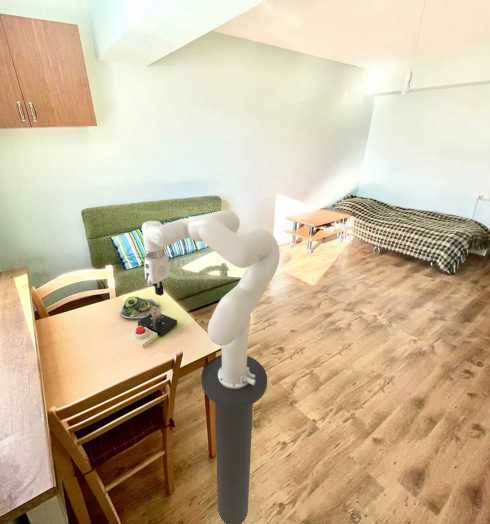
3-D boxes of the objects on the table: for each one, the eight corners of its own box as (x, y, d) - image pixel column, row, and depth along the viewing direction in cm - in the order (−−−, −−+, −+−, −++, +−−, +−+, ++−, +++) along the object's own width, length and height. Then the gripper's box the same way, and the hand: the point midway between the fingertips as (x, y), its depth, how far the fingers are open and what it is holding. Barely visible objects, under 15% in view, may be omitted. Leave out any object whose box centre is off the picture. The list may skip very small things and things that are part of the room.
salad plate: (164, 300, 152) (163, 293, 149) (155, 321, 136) (154, 313, 134) (129, 299, 153) (128, 292, 150) (116, 319, 137) (115, 312, 135)
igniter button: (146, 331, 122) (146, 327, 122) (140, 335, 120) (140, 332, 119) (141, 328, 124) (140, 325, 123) (134, 332, 121) (134, 329, 121)
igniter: (158, 337, 124) (157, 330, 122) (142, 348, 117) (141, 341, 115) (140, 329, 129) (139, 322, 128) (125, 340, 122) (124, 332, 121)
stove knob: (157, 317, 134) (156, 307, 132) (163, 320, 132) (162, 310, 130) (150, 321, 131) (149, 312, 129) (157, 324, 128) (156, 315, 126)
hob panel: (177, 324, 133) (177, 319, 132) (161, 336, 124) (160, 332, 123) (154, 315, 140) (154, 310, 139) (138, 326, 132) (137, 321, 131)
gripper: (147, 261, 101) (153, 304, 108) (175, 249, 112) (178, 289, 119) (133, 257, 104) (139, 299, 111) (161, 245, 116) (165, 284, 123)
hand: (159, 294), depth 115 cm, fingers closed
